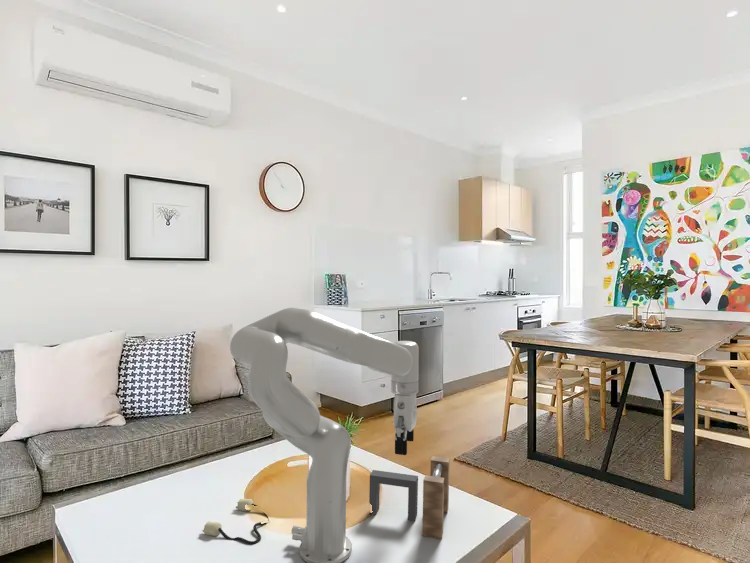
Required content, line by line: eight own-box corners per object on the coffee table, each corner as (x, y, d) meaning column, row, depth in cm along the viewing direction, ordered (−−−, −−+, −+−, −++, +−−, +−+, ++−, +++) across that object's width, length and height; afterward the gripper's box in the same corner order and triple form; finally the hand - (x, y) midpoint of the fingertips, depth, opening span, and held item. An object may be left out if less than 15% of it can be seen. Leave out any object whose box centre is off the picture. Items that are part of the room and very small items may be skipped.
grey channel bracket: (369, 513, 130) (369, 475, 130) (372, 507, 134) (373, 469, 133) (415, 521, 127) (415, 481, 126) (417, 514, 130) (418, 475, 130)
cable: (287, 517, 129) (287, 504, 129) (251, 550, 114) (252, 536, 113) (240, 506, 134) (240, 494, 134) (200, 536, 119) (200, 523, 119)
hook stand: (422, 535, 120) (423, 480, 120) (431, 505, 135) (432, 456, 135) (441, 538, 119) (442, 482, 118) (448, 507, 134) (449, 458, 134)
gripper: (412, 396, 119) (412, 461, 120) (423, 379, 136) (422, 437, 137) (384, 393, 121) (383, 458, 122) (398, 377, 138) (397, 434, 139)
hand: (404, 447), depth 129 cm, fingers open, 9 cm apart
